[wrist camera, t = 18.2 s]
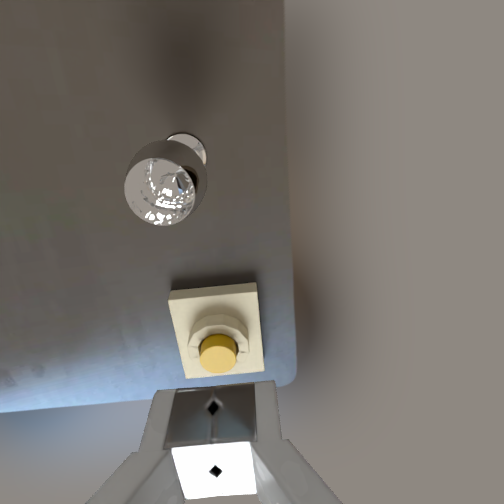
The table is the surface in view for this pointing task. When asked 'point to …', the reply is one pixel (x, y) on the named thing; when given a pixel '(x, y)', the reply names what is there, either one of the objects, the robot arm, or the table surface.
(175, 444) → the robot arm
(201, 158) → the wineglass
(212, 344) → the yellow push button
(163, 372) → the table surface
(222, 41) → the table surface
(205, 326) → the housing
